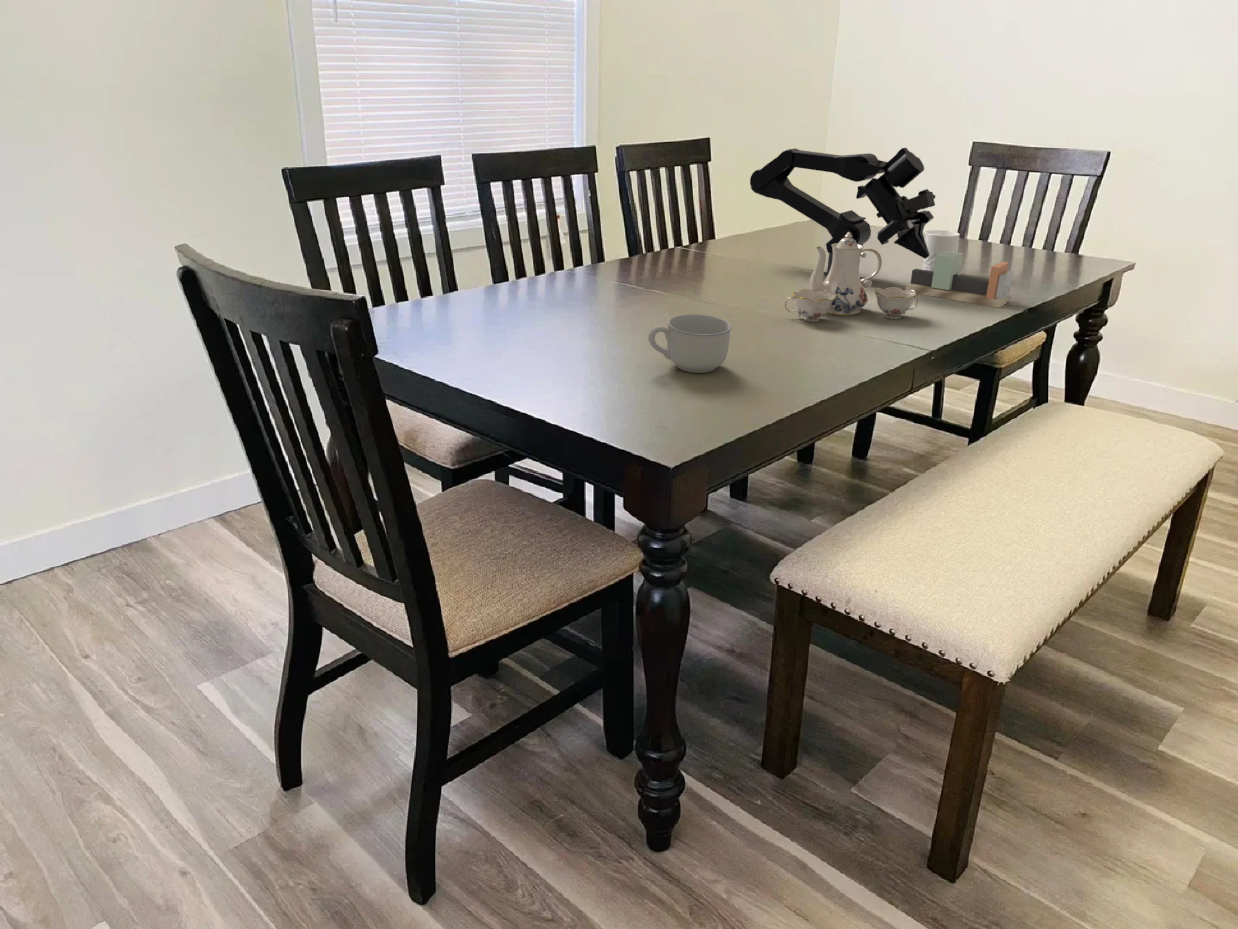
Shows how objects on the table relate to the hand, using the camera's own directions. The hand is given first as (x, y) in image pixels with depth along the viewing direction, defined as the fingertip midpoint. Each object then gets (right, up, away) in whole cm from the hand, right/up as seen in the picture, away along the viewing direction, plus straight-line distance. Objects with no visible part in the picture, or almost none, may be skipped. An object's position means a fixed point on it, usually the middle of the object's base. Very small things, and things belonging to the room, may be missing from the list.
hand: (927, 257), depth 206 cm
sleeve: (+4, -7, 0) cm, 8 cm away
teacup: (-58, -30, -49) cm, 82 cm away
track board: (+6, -9, -1) cm, 11 cm away
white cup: (+9, 0, +19) cm, 21 cm away
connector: (+14, -10, -7) cm, 19 cm away
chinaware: (-22, -16, -16) cm, 31 cm away
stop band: (+12, -10, -6) cm, 17 cm away
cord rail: (+6, -7, -1) cm, 9 cm away
